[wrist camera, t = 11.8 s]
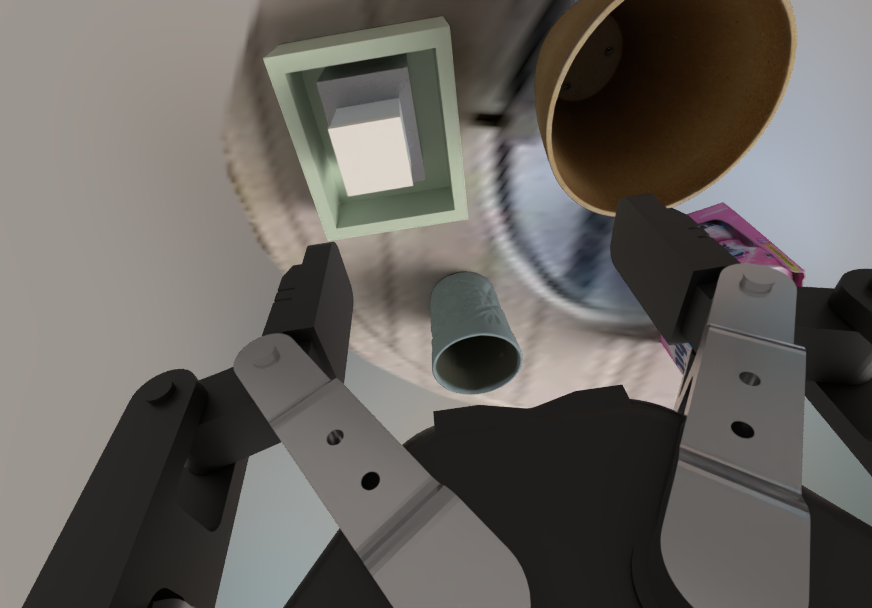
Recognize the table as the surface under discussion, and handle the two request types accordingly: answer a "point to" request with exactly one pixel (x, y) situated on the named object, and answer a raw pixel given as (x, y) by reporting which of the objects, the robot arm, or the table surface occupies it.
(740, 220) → the gum box
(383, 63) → the tin block
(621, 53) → the plant pot
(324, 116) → the tote
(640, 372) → the table surface
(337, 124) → the off-white carton
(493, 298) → the teal cup
